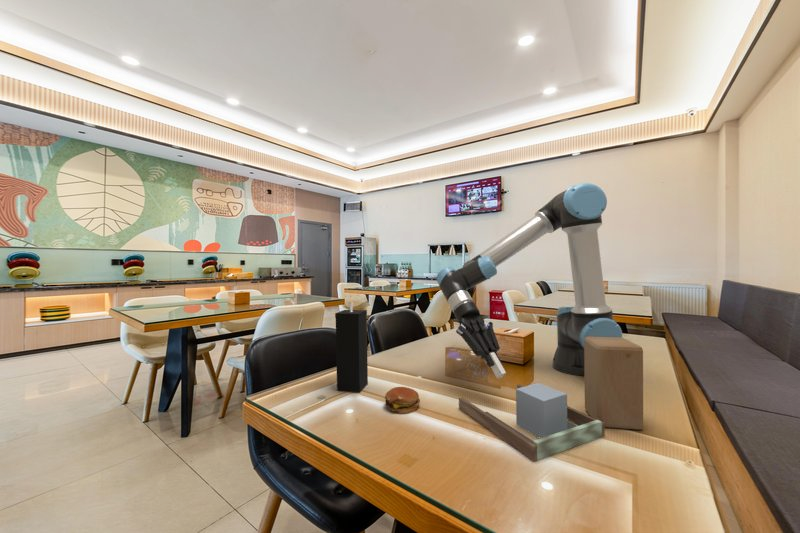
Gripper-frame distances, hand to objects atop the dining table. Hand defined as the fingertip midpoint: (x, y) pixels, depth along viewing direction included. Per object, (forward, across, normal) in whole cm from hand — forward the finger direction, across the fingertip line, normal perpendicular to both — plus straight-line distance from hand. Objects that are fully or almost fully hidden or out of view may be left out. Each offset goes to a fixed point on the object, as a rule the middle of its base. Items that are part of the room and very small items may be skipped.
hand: (501, 375), depth 89 cm
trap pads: (+12, 0, 0) cm, 12 cm away
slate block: (+15, 0, +3) cm, 16 cm away
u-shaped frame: (+12, 0, 0) cm, 12 cm away
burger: (-3, +24, -16) cm, 29 cm away
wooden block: (+19, -20, +6) cm, 28 cm away
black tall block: (-17, +33, -30) cm, 47 cm away
